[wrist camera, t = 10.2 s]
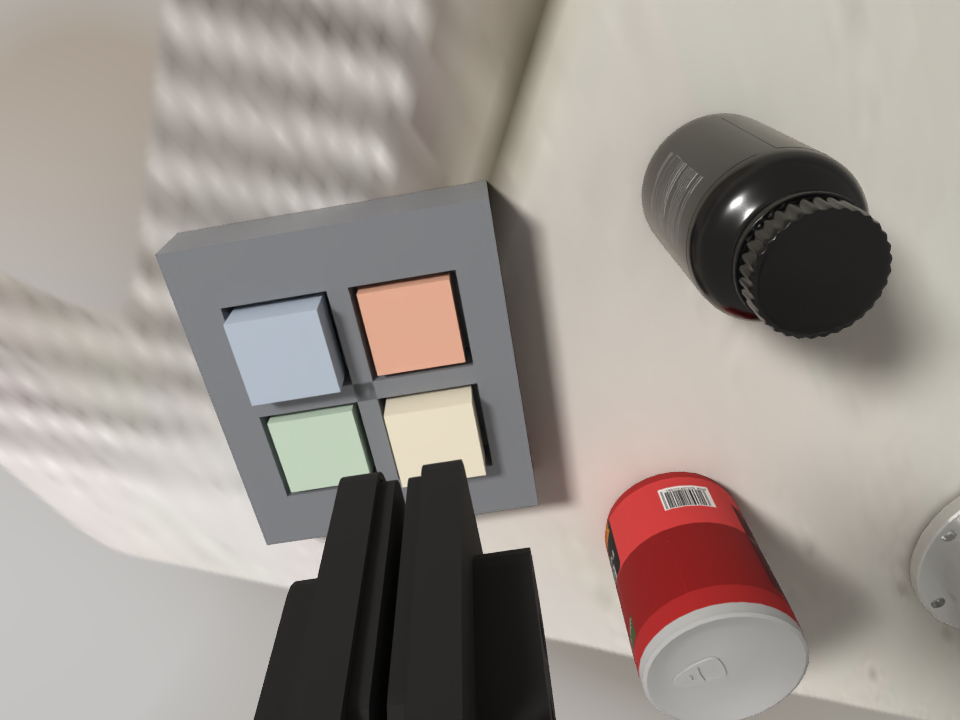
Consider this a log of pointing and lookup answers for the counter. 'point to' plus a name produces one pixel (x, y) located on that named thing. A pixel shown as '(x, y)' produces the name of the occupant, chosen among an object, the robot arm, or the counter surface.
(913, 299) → the counter surface
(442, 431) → the sand key
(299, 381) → the slate key
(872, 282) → the supplement bottle
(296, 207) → the counter surface
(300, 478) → the sage key
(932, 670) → the counter surface
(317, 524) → the keypad
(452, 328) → the terracotta key
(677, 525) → the canned food
